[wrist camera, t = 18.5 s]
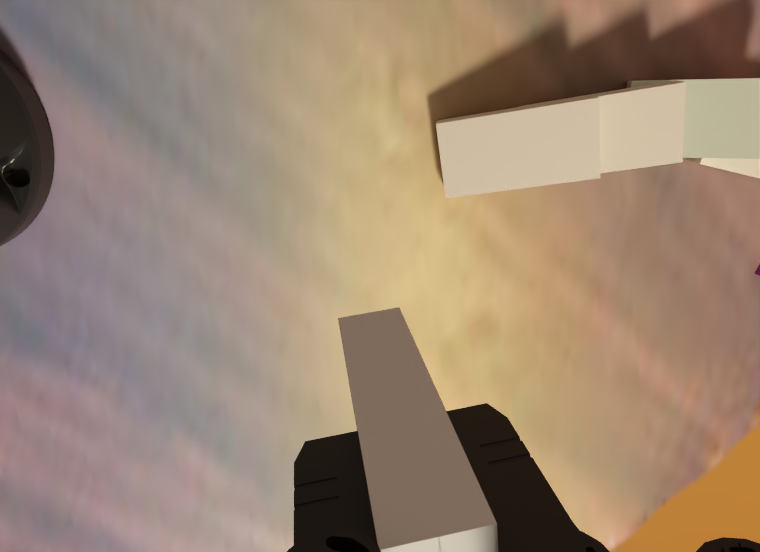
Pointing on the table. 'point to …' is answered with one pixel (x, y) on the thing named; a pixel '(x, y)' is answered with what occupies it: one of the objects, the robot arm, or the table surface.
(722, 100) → the domino
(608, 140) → the domino
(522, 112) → the domino
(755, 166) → the domino
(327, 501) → the robot arm
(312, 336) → the table surface
